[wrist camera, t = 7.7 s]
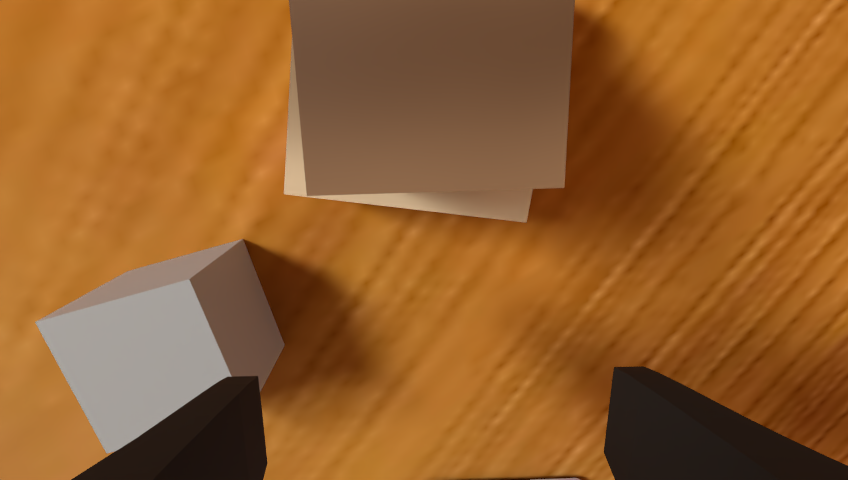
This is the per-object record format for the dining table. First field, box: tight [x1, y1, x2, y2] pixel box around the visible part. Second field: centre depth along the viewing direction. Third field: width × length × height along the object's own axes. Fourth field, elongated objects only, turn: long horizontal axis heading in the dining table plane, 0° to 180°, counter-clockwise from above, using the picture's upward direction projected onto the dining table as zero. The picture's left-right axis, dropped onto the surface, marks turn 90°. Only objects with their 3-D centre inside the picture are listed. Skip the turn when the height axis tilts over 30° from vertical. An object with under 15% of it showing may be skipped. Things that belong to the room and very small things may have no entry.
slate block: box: [35, 239, 285, 453], centre depth 17 cm, size 5×5×5 cm
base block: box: [284, 38, 533, 223], centre depth 16 cm, size 8×8×4 cm
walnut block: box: [289, 0, 575, 196], centre depth 11 cm, size 5×5×6 cm
